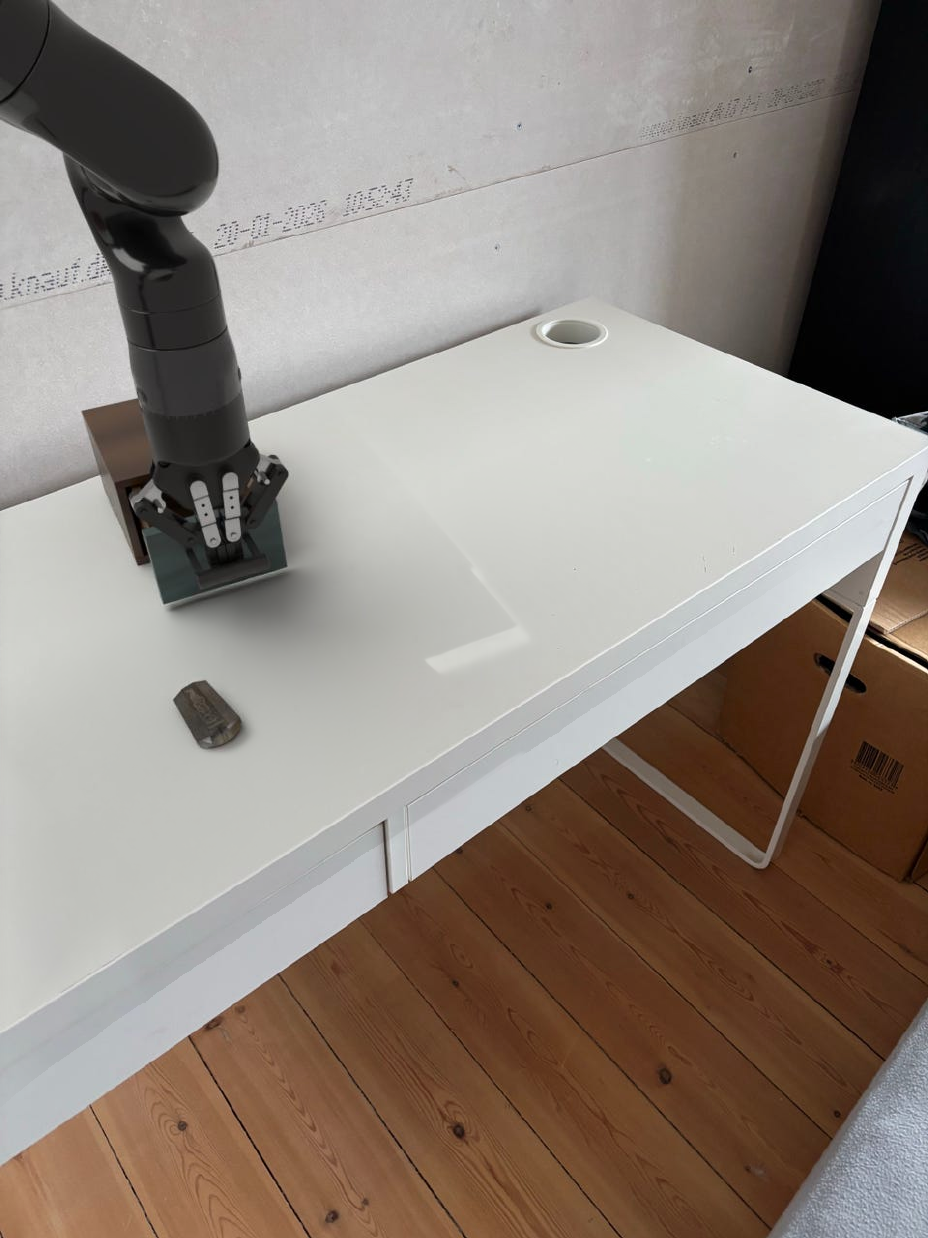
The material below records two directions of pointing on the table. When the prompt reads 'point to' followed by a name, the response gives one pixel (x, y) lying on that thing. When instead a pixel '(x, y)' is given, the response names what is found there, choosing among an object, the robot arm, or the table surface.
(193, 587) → the drawer
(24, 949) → the table surface
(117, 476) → the cabinet
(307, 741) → the table surface
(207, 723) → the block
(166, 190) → the robot arm
